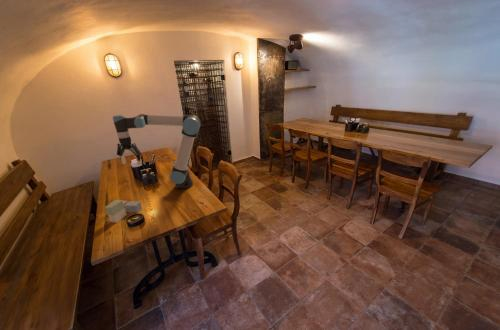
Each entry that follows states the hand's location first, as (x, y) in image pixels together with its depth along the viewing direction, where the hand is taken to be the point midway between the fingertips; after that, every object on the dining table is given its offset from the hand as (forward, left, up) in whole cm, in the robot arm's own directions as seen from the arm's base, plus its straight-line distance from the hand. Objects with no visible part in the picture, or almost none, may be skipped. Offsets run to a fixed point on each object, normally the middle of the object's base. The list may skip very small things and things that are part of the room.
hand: (131, 164), depth 157 cm
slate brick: (-9, +18, -29) cm, 35 cm away
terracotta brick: (+1, +18, -29) cm, 34 cm away
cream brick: (-5, +28, -29) cm, 41 cm away
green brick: (-5, +28, -23) cm, 37 cm away
